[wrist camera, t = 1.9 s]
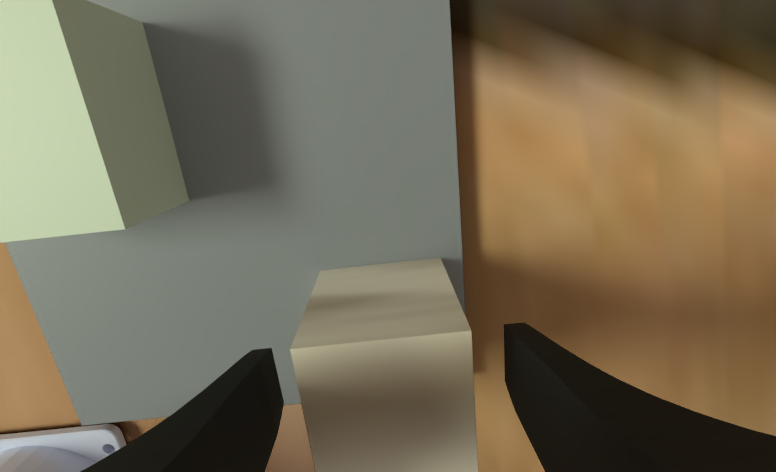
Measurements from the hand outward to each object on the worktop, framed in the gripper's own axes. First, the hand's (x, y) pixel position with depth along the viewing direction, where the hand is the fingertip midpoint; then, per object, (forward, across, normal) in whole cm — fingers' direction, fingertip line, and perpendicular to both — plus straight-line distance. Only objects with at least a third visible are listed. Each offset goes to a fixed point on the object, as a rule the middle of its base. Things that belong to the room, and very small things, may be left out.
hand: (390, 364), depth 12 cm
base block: (+3, +9, -8) cm, 12 cm away
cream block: (+3, 0, 0) cm, 3 cm away
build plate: (+3, +5, -4) cm, 7 cm away
